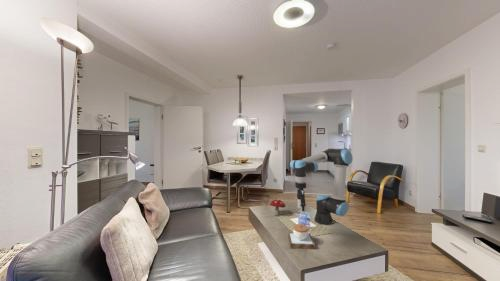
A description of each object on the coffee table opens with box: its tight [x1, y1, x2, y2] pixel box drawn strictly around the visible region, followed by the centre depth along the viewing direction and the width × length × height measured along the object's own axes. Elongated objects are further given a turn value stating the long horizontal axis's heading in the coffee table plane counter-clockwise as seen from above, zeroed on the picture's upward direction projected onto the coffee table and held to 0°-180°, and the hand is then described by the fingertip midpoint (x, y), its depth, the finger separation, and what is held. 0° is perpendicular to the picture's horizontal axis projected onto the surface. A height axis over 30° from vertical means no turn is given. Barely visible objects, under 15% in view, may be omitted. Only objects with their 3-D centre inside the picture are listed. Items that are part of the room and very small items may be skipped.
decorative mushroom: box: [268, 198, 286, 217], centre depth 191 cm, size 16×16×15 cm
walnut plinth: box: [287, 232, 316, 250], centre depth 140 cm, size 16×16×3 cm
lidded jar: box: [292, 223, 309, 240], centre depth 140 cm, size 11×11×9 cm
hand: (301, 211), depth 142 cm, fingers open, 13 cm apart
